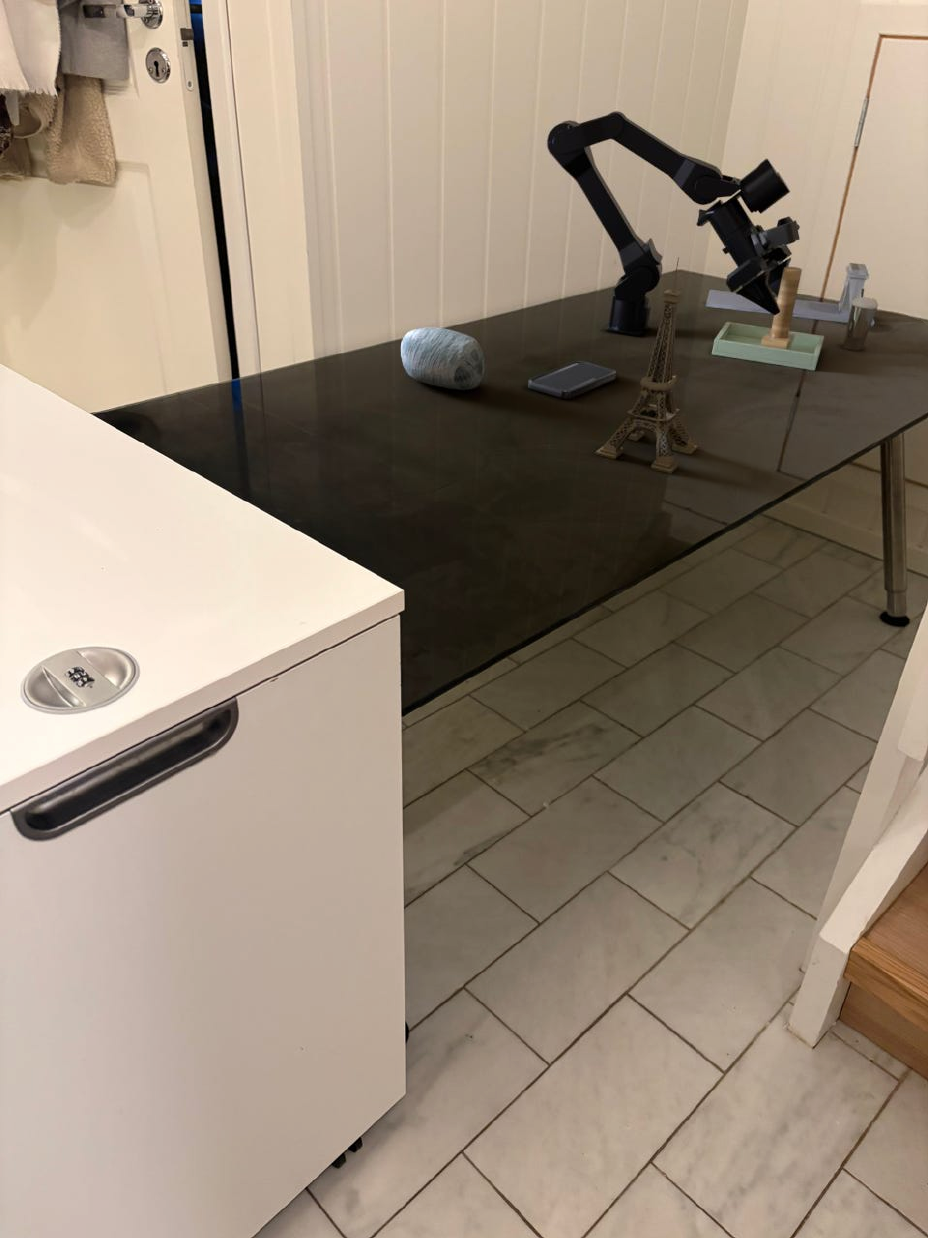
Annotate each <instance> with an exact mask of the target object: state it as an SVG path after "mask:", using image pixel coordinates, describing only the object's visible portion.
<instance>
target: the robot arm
mask: <svg viewBox="0 0 928 1238" xmlns="http://www.w3.org/2000/svg"><path fill="white" fill-rule="evenodd" d="M608 140H612V141H614V142H616V143H617V144H619V145H621V146H622V147H624V148H625V149H627V150H628V151H629V152H631V153H633V154H634V155H636V156H638V157H639V158H641V159H642V160H643V161H645V162H647V163H648V164H650V165H651V166H652V167H655V168H656V169H658V170H659V171H660V172H662V173H664V174H665V175H667V176H668V177H669V178H670V179H671V180H672V181H673V182H674V183H675V185H676V186H677V187H678V188H679V189H680V191H682V192H683V193H684V194H685V195H686V196H687V197H688V198H689V199H690V200H691V201H692V202H693V203H695V204H696V205H700V206H706V205H710V204H712V203H713V202H715V203H713V204H712V205H711V206H709V207H708V208H707V209H701V208H700V209H698V217H697V220H696V223H695V225H696V226H697V227H704V226H705V225H706V224H707V223H709V224H710V226H711V227H712V228H713V230H714V232H715V233H716V235H717V237H718V238H719V239H720V241H721V243H722V245H723V247H724V248H722V252H723V253H724V255H727V254H729V256H730V257H731V259H732V260H733V262H734V264H735V265H736V268H735V269H733V271H731V272H730V273H728V274H727V276H726V280H725V284H726V286H727V287H728V289H729V292H735V293H736V294H737V295H741V296H743V297H744V298H746V299H748V300H750V301H752V302H753V303H755V304H757V305H758V306H760V307H762V308H763V309H765V310H767V311H768V312H770V313H771V314H770V315H773V316H774V315H777V314H778V313H780V309H779V306H778V304H777V302H776V299H775V297H778V295H779V290H780V285H781V280H782V275H783V270H784V268H785V267H790V262H791V261H792V257H790V256H792V255H793V253H792V251H791V250H790V247H788V245H790V244H793V243H795V242H796V241H799V240H800V238H801V237H800V232H799V230H800V228H801V226H800V225H799V224H798V221H797V219H796V220H793V219H792V218H791V216H786V217H783V218H780V219H778V220H777V225H776V226H774V227H772V228H768V229H766V230H765V229H764V228H763V226H762V225H761V224H760V225H759V224H756V225H755V224H754V223H753V221H752V220H751V218H750V216H749V215H748V213H747V211H746V210H745V208H744V206H743V205H742V203H741V202H740V201H739V199H740V198H741V200H742V202H743V203H744V205H745V207H746V208H747V210H748V211H749V212H750V213H751V214H753V213H757V212H758V213H759V214H763V213H764V212H766V211H767V210H768V209H770V208H771V207H772V206H773V205H775V204H776V203H778V202H779V201H781V200H782V199H783V198H785V197H786V196H787V195H789V193H791V191H790V188H789V186H788V185H787V183H786V182H785V180H784V179H783V177H782V175H781V174H780V172H778V171H777V170H776V168H775V167H774V166H773V165H772V162H771V161H770V159H768V158H765V159H764V160H762V161H761V162H760V163H759V164H758V165H757V166H756V167H755V168H754V169H753V170H751V171H750V172H749V173H748V174H746V175H745V176H744V177H742V178H738V177H736V176H730V175H727V174H723V172H722V170H721V169H720V168H719V167H718V166H716V165H714V164H712V163H709V162H707V161H704V160H702V159H699V158H697V157H693V156H690V155H687V154H684V153H682V152H680V151H678V150H677V149H676V148H674V147H672V146H671V145H670V144H668V143H666V142H665V141H663V140H662V139H660V138H658V137H657V136H655V135H654V134H652V133H651V132H649V131H648V130H646V129H645V128H643V127H642V126H640V125H639V124H637V123H636V122H634V121H632V120H631V119H629V118H628V117H627V116H626V115H625V114H624V113H623V112H622V111H619V110H618V111H617V110H616V111H612V112H610V113H608V114H607V115H603V116H599V117H596V118H593V119H590V120H587V121H583V122H580V123H579V122H578V121H575V120H564V121H562V122H560V123H558V124H556V125H555V126H554V127H552V129H551V130H549V133H548V135H547V139H546V147H547V150H548V152H549V154H550V155H551V157H552V159H554V160H555V162H557V163H558V165H559V166H560V167H561V168H562V169H563V170H564V171H565V172H566V173H567V174H568V175H570V176H571V177H572V179H574V181H575V182H576V183H577V185H578V187H579V188H580V190H581V191H582V193H583V195H584V197H585V198H586V201H588V203H589V205H590V207H591V209H592V210H593V211H594V213H595V215H596V216H597V218H598V220H599V222H600V223H601V225H602V227H603V228H604V230H605V232H606V233H607V235H608V237H609V239H610V240H611V241H612V243H613V245H614V247H615V249H616V250H617V253H618V256H619V259H620V263H621V266H622V270H623V273H624V274H623V275H621V276H620V277H619V278H618V280H617V282H616V284H615V286H614V288H613V292H614V294H612V296H611V303H610V312H609V319H608V325H607V326H606V327H605V332H610V333H616V334H621V335H622V334H623V335H629V336H634V337H635V336H636V337H639V336H641V335H642V334H643V333H644V332H645V331H646V330H647V329H648V327H649V322H650V321H649V320H650V314H651V308H652V307H651V305H649V302H650V301H649V300H650V296H648V295H647V293H650V292H651V291H653V290H654V289H656V287H657V286H658V284H659V283H660V280H661V277H662V275H663V263H662V261H663V256H664V255H662V254H661V253H659V251H658V250H657V248H656V246H655V243H654V241H653V239H652V238H649V239H648V240H647V241H646V242H644V240H642V239H641V237H639V236H638V235H637V233H636V232H635V230H634V228H633V227H632V225H631V223H630V221H629V220H628V218H627V216H626V214H625V213H624V211H623V209H622V208H621V206H620V205H619V203H618V201H617V199H616V197H615V196H614V194H613V193H612V191H611V189H610V187H609V185H608V184H607V183H606V181H605V179H604V177H603V176H602V174H601V172H600V171H599V169H598V167H597V165H596V162H595V159H594V155H593V151H592V147H591V146H593V145H594V146H595V145H596V144H600V143H602V142H606V141H608ZM718 198H719V199H718ZM720 198H729V199H727V200H725V202H724V201H723V200H722V199H720ZM717 199H718V200H717ZM740 287H741V288H740ZM738 289H739V290H738ZM646 295H647V296H646ZM775 295H776V296H775Z"/></svg>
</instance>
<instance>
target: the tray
mask: <svg viewBox="0 0 928 1238" xmlns="http://www.w3.org/2000/svg"><path fill="white" fill-rule="evenodd" d="M771 329H772V327H767V326H766V327H765V326H760V325H752V324H745V323H739V322H731V321H726V322H725V324H724V325H723V326H722V328H721V329H720V331H719V332H718V334H717V335H716V337H715V338H714V341H713V345H712V351H711V355H712V356H713V355H714V356H721V357H726V358H733V359H738V360H746V361H752V362H757V363H764V364H771V365H777V366H783V367H790V368H795V369H802V370H808V371H815V370H816V367H817V364H818V361H819V357H820V354H821V351H822V347H823V344H824V340H825V336H824V335H820V334H813V333H806V332H799V331H793V330H789V333H792V334H795V338H794V342H793V343H792V345H791V349H790V350H786V349H779V348H773V347H766V346H761V342H762V338H763V337H764V336H765V335H766V334H767V333H768V332H769V331H770V330H771Z"/></svg>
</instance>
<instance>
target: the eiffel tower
mask: <svg viewBox="0 0 928 1238" xmlns="http://www.w3.org/2000/svg"><path fill="white" fill-rule="evenodd" d="M679 260H680V256H677V260H676V261H677V263H676V268H675V272H674V277H673V282H672V286H671V289H667V290H666V291H663V296H662V297H661V298H660V301H661V302H663V303H664V306H663V311H662V314H661V318H660V323H659V326H658V330H657V334H656V338H655V342H654V346H653V349H652V353H651V354H652V355H651V357H650V360H649V364H648V369H647V372H646V376H645V377H642V378H641V380H640V382H639V385H641V390H640V392H639V395H638V397H637V399H636V402H635V403H634V405H633V407H632V409H630V410H629V411H628V410H627V416H628V417H627V418H626V419H625V420H624V421H623V423H621V425H620V426H619V427H618V428H617V430H615V432H614V433H613V434H612V435H611V436H610V437H609V439H608V440H607V441H606V442H605V444H604V445H602V446H601V447H600V448H599V449H597V450H596V451H595V453H594V454H595V455H597V456H601V457H605V458H609V459H611V460H615V459H617V458H618V457H619V456H621V454H623V452H624V448H623V447H622V446H623V445H624V444H625V442H627V440H631V441H635V442H637V441H638V440H640V439H641V438H643V436H645V432H644V431H643V430H645V431H648V432H650V433H651V434H652V435H654V436H655V439H656V440H655V442H656V443H655V460H654V461H653V462H652V464H651V466H650V469H651V470H655V471H659V472H663V473H667V474H673V472H674V471H676V469H677V468H679V463H676V460H675V456H674V453H673V451H675V452H680V453H683V454H687V455H692V454H693V453H694V452H696V450H698V447H699V445H696V444H695V443H693V441H692V438H691V436H690V434H689V433H688V431H687V429H686V427H685V425H684V424H683V422H682V421H681V419H680V417H679V416H678V413H679V411H680V408H677V407H676V403H675V398H674V386H675V384H676V383H677V381H678V380H677V375H673V369H674V353H675V340H676V339H675V338H676V323H677V307H678V304H679V303H680V302H682V301H683V300H684V298H683V297H682V295H681V294H683V292H682V291H681V290H680V291H679V290H676V285H677V284H676V283H677V276H678V267H679V266H678V265H679ZM654 396H656V404H651V402H652V401H653V398H654ZM667 433H669V436H670V437H671V439H672V441H673V444H672V445H671V446H670V443H669V441H668V439H667Z"/></svg>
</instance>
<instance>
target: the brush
mask: <svg viewBox="0 0 928 1238" xmlns="http://www.w3.org/2000/svg"><path fill="white" fill-rule="evenodd" d="M802 272H803V269H802V268H800V267H796V266H788V267H785V268H784V270H783V275H782V280H781V285H780V290H779V295H778V296H777V297H778V300H777V304H778V306H779V309H780V313H778V314H777V315H773V319H772V325H771V328H772V329H771V330H770V331H769V332H768V333H767V334H766V335H765V336H764V337H763V338H762V342H761V346H766V347H773V348H779V349H786V350H790V349H791V345H792V343H793V342H794V338H795V334H792V333H789V331H790V328H791V324H792V320H793V317H792V315H793V310H794V305H795V301H796V299H797V296H798V291H799V287H800V281H801V278H802Z"/></svg>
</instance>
